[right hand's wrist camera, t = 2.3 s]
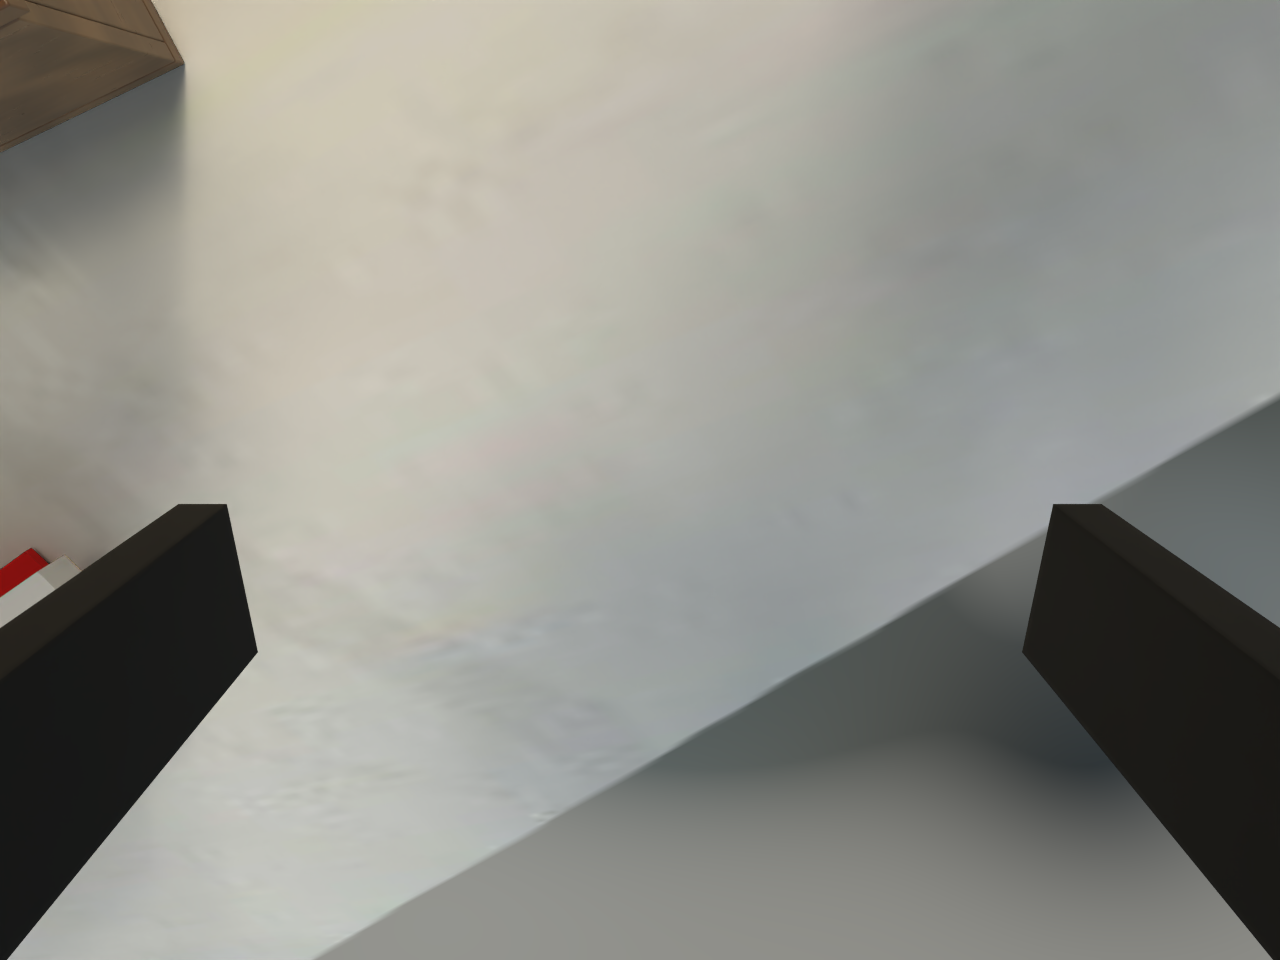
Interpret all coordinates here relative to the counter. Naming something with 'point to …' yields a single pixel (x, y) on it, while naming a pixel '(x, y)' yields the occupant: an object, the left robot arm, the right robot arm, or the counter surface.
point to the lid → (12, 10)
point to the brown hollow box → (76, 60)
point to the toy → (30, 582)
